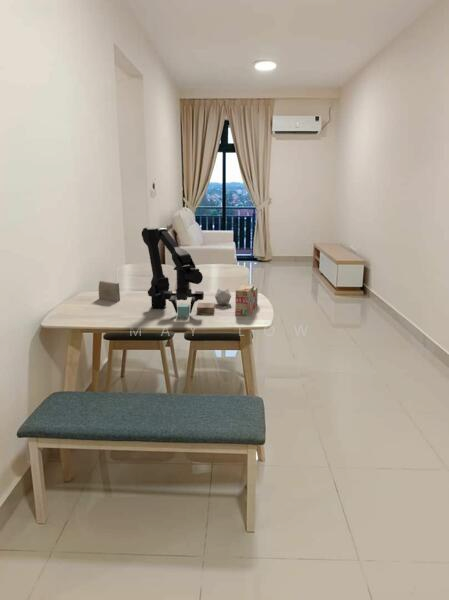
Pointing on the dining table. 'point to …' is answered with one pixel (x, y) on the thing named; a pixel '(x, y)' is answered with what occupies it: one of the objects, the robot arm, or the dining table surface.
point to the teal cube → (183, 310)
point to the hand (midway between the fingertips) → (183, 313)
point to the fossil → (109, 291)
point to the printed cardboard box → (245, 299)
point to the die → (223, 296)
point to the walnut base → (205, 308)
